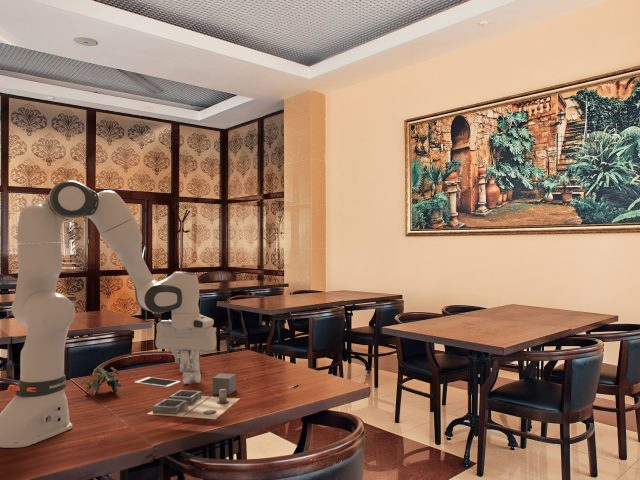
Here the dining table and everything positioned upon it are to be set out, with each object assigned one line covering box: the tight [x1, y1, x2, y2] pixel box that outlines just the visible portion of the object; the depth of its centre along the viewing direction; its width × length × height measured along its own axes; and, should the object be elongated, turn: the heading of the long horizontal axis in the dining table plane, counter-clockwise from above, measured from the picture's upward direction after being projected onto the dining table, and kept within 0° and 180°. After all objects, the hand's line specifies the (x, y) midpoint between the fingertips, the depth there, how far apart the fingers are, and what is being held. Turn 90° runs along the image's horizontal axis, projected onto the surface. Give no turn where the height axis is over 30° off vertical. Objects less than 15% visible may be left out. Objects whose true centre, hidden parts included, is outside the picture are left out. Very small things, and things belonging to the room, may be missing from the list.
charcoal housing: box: [212, 372, 237, 396], centre depth 175 cm, size 6×6×7 cm
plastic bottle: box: [182, 350, 202, 385], centre depth 191 cm, size 6×7×20 cm
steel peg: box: [179, 350, 192, 373], centre depth 167 cm, size 4×4×7 cm
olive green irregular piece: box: [80, 366, 122, 398], centre depth 178 cm, size 11×11×12 cm
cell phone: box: [134, 376, 181, 388], centre depth 194 cm, size 8×16×1 cm, turn 67°
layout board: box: [147, 389, 241, 420], centre depth 160 cm, size 20×22×6 cm
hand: (186, 362), depth 167 cm, fingers closed on steel peg, 4 cm apart
